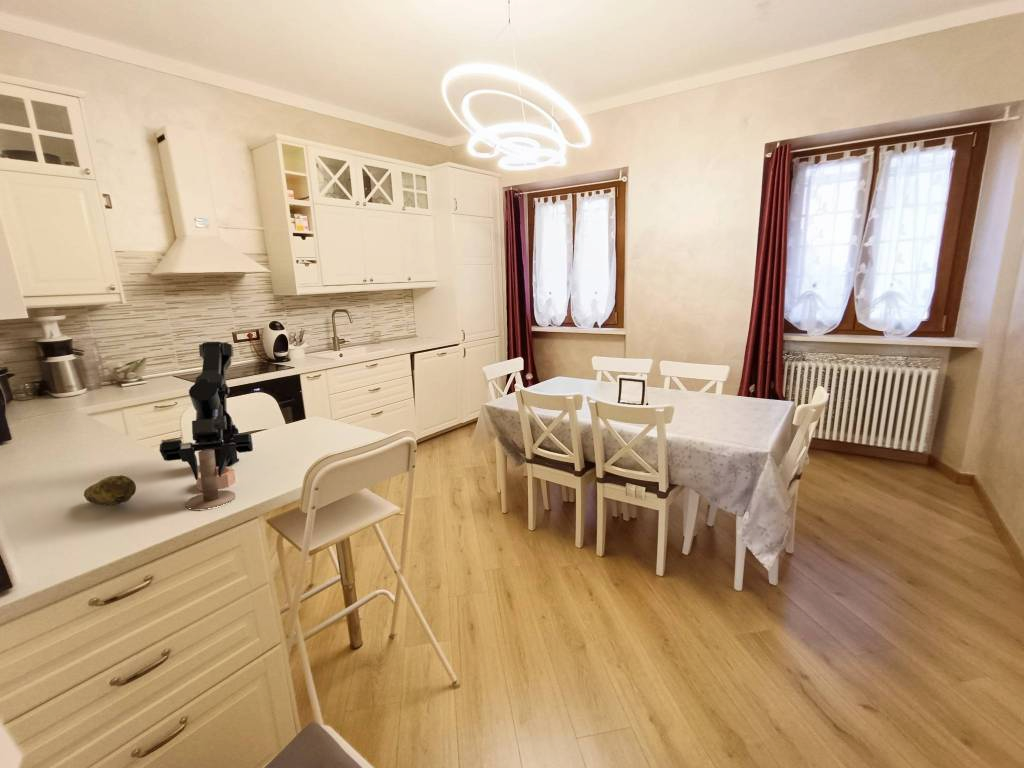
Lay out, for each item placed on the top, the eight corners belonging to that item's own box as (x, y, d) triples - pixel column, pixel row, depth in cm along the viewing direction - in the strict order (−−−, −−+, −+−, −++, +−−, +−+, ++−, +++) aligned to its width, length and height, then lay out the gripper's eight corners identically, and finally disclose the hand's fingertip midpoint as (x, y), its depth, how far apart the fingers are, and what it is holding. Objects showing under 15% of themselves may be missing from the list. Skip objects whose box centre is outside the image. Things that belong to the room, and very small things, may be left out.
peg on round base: (176, 510, 105) (170, 458, 102) (203, 492, 114) (198, 444, 112) (219, 510, 105) (214, 458, 103) (243, 492, 115) (239, 445, 113)
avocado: (128, 492, 113) (124, 462, 112) (142, 508, 105) (137, 476, 104) (83, 503, 107) (78, 472, 105) (94, 521, 99) (89, 487, 97)
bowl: (191, 490, 115) (189, 477, 115) (210, 478, 123) (209, 466, 122) (222, 490, 116) (221, 478, 115) (240, 478, 123) (239, 466, 123)
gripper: (156, 408, 105) (150, 468, 97) (248, 402, 113) (249, 457, 106) (167, 431, 113) (162, 489, 105) (252, 424, 122) (253, 476, 114)
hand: (208, 477), depth 107 cm, fingers open, 4 cm apart
